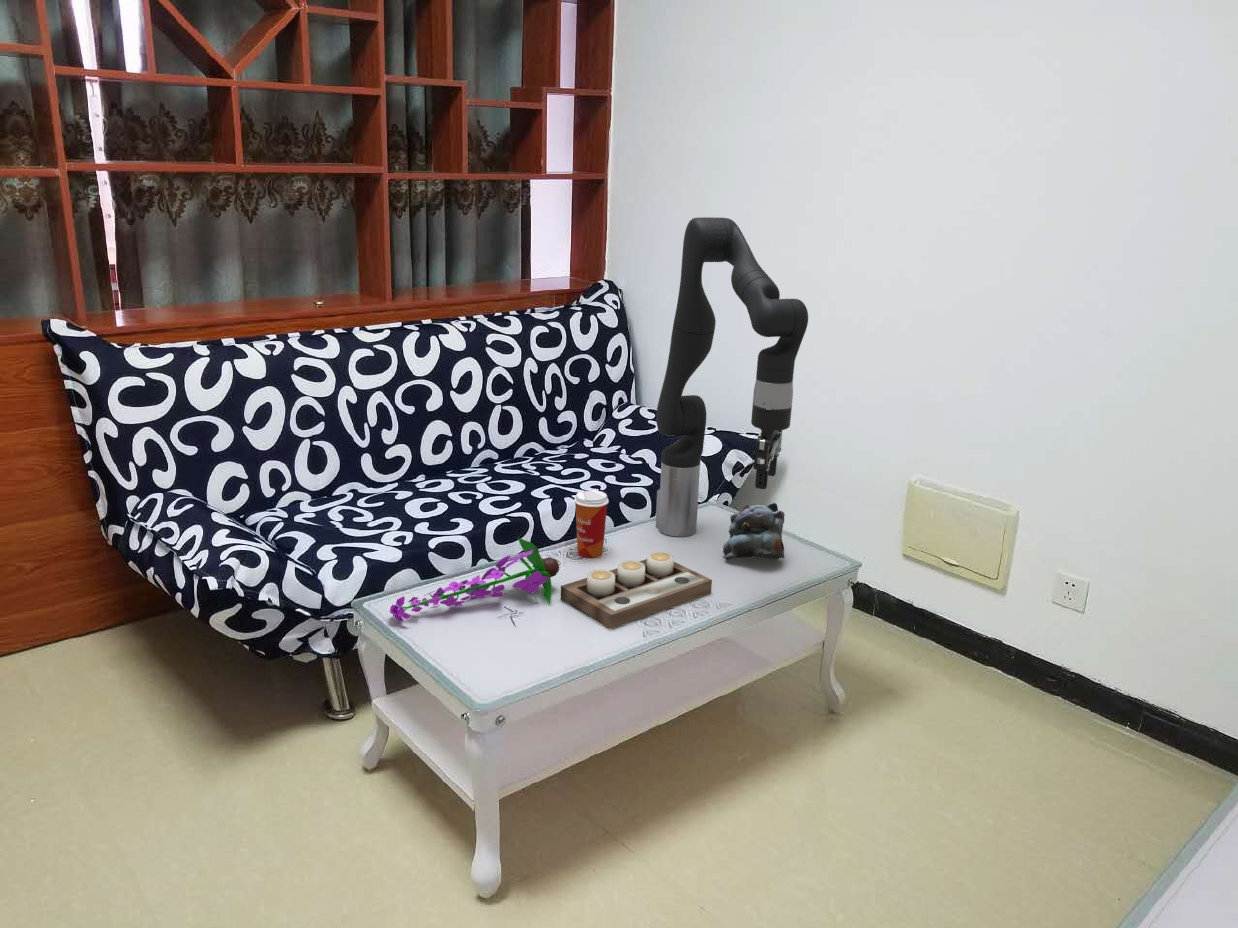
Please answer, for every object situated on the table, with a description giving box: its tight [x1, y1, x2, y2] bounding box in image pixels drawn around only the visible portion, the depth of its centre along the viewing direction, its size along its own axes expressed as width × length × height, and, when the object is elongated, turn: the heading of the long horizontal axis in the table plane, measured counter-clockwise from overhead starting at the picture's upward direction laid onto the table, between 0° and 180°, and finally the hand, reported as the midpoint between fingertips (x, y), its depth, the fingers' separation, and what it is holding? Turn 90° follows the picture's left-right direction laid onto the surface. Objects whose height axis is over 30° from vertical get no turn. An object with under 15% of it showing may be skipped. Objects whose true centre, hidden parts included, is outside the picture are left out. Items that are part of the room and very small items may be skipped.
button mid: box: [617, 560, 645, 585], centre depth 198 cm, size 6×6×3 cm
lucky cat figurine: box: [722, 502, 785, 560], centre depth 219 cm, size 15×12×14 cm
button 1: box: [586, 569, 615, 595], centre depth 193 cm, size 6×6×3 cm
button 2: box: [646, 551, 675, 576], centre depth 203 cm, size 6×6×3 cm
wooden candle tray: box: [560, 558, 713, 630], centre depth 198 cm, size 16×27×3 cm, turn 130°
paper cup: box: [573, 489, 610, 559], centre depth 216 cm, size 8×8×14 cm
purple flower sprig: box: [389, 538, 560, 622], centre depth 191 cm, size 12×16×35 cm
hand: (765, 481), depth 192 cm, fingers open, 8 cm apart
